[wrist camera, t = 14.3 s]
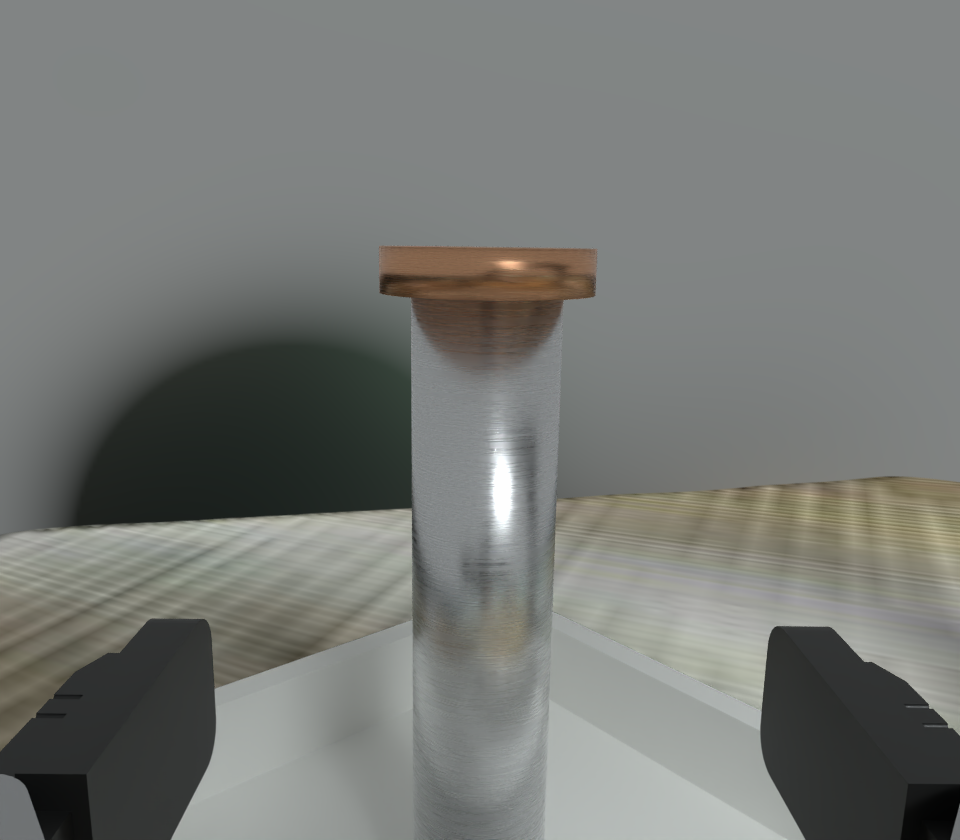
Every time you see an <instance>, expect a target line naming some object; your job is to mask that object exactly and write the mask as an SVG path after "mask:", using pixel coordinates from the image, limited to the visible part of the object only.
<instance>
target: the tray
mask: <svg viewBox="0 0 960 840" xmlns="http://www.w3.org/2000/svg"><path fill="white" fill-rule="evenodd" d="M214 691H215V708H216V735H215V742H214V748H213V753H212V756H211V760H210V763H209V765H208V768H207V770H206V772H205V774H204V776H203V778H202V780H201V782H200V784H199V785H198V787H197V789H196V791H195V793H194V795H193V797H192V799H191V801H190V803H189V805H188V807H187V809H186V811H185V813H184V815H183V817H182V819H181V821H180V823H179V825H178V827H177V828H176V830H175V832H174V834H173V836H172V838H171V840H413V620H410V621H408V622H405V623H402V624H399V625H396V626H393V627H390V628H388V629H385V630H382V631H379V632H376V633H373V634H370V635H367V636H365V637H362V638H359V639H356V640H353V641H350V642H347V643H345V644H342V645H339V646H336V647H333V648H330V649H327V650H324V651H322V652H319V653H316V654H313V655H310V656H307V657H304V658H302V659H299V660H296V661H293V662H290V663H287V664H284V665H281V666H279V667H276V668H273V669H270V670H267V671H264V672H261V673H259V674H256V675H253V676H250V677H247V678H244V679H241V680H238V681H236V682H233V683H230V684H227V685H224V686H221V687H218V688H216V689H214ZM761 713H762V711H761V710H759V709H757V708H755V707H753V706H750V705H748V704H746V703H744V702H742V701H740V700H738V699H736V698H734V697H732V696H729V695H727V694H725V693H723V692H721V691H719V690H717V689H715V688H713V687H711V686H708V685H706V684H704V683H702V682H700V681H698V680H696V679H694V678H692V677H690V676H687V675H685V674H683V673H681V672H679V671H677V670H675V669H673V668H671V667H669V666H666V665H664V664H662V663H660V662H658V661H656V660H654V659H652V658H650V657H648V656H645V655H643V654H641V653H639V652H637V651H635V650H633V649H631V648H629V647H627V646H624V645H622V644H620V643H618V642H616V641H614V640H612V639H610V638H608V637H606V636H603V635H601V634H599V633H597V632H595V631H593V630H591V629H589V628H587V627H585V626H582V625H580V624H578V623H576V622H574V621H572V620H570V619H568V618H566V617H564V616H561V615H559V614H557V613H555V612H553V611H552V637H551V666H550V694H549V722H548V751H547V779H546V807H545V836H544V840H805V838H804V836H803V835H802V833H801V831H800V829H799V827H798V826H797V824H796V822H795V820H794V818H793V817H792V815H791V813H790V811H789V809H788V808H787V806H786V804H785V802H784V800H783V799H782V797H781V795H780V793H779V792H778V790H777V788H776V786H775V784H774V783H773V781H772V779H771V777H770V775H769V773H768V771H767V769H766V766H765V762H764V759H763V754H762V748H761V739H760V724H761Z"/></svg>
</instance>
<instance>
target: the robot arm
mask: <svg viewBox="0 0 960 840" xmlns="http://www.w3.org/2000/svg"><path fill="white" fill-rule="evenodd" d="M215 735H216V708H215V691H214V674H213V656H212V639H211V631H210V627H209V624H208V622H207V621H206V620H205V619H150V620H149V621H147V622H146V624H145V625H144V626H143V627H142V628H141V629H140V630H139V632H138V633H137V634H136V635H135V636H134V637H133V639H132V640H131V641H130V642H129V643H128V644H127V645H126V647H125V648H124V649H123V650H122V651H121V652H120V653H107V654H106V655H104V656H102V657H100V658H99V659H97V660H95V661H94V662H92V663H90V664H88V665H87V666H85V667H83V668H81V669H80V670H78V671H76V672H75V673H74V674H73V675H72V676H71V677H70V678H69V679H68V680H67V681H66V682H65V683H64V684H63V686H62V687H61V688H60V689H59V690H58V691H57V692H56V693H55V694H54V698H53V699H49V700H48V701H47V703H46V704H45V705H44V706H43V707H42V708H41V709H40V710H39V711H38V712H37V713H36V718H32V719H31V720H30V721H29V722H28V723H27V724H26V725H25V726H24V727H23V728H22V729H21V730H20V731H19V732H18V733H17V735H16V736H15V737H14V738H13V739H12V740H11V741H10V742H9V743H8V744H7V745H6V746H5V747H4V748H3V749H2V751H1V752H0V840H171V838H172V836H173V834H174V832H175V830H176V828H177V827H178V825H179V823H180V821H181V819H182V817H183V815H184V813H185V811H186V809H187V807H188V805H189V803H190V801H191V799H192V797H193V795H194V793H195V791H196V789H197V787H198V785H199V784H200V782H201V780H202V778H203V776H204V774H205V772H206V770H207V768H208V765H209V763H210V760H211V756H212V753H213V748H214V742H215ZM760 739H761V748H762V754H763V759H764V762H765V766H766V769H767V771H768V773H769V775H770V777H771V779H772V781H773V783H774V784H775V786H776V788H777V790H778V792H779V793H780V795H781V797H782V799H783V800H784V802H785V804H786V806H787V808H788V809H789V811H790V813H791V815H792V817H793V818H794V820H795V822H796V824H797V826H798V827H799V829H800V831H801V833H802V835H803V836H804V838H805V840H960V736H959V735H958V733H957V732H956V731H955V730H954V729H953V728H948V723H947V722H946V721H945V720H944V719H943V718H942V717H941V716H940V715H939V714H938V713H937V712H936V711H935V710H934V709H929V704H928V703H927V702H926V701H925V700H924V699H923V698H922V697H921V696H920V695H919V694H918V693H917V692H916V691H915V690H914V689H913V688H912V687H911V686H910V685H909V684H908V683H907V682H906V681H904V680H902V679H901V678H899V677H897V676H895V675H894V674H892V673H890V672H888V671H887V670H885V669H883V668H881V667H880V666H878V665H876V664H874V663H873V662H864V661H863V660H862V659H861V658H860V657H859V656H858V655H857V654H856V653H855V652H854V651H853V650H852V649H851V648H850V646H849V645H848V644H847V643H846V642H845V641H844V640H843V639H842V638H841V637H840V636H839V635H838V634H837V633H836V632H835V630H833V629H832V628H830V627H796V626H777V627H775V628H774V629H773V630H772V632H771V634H770V637H769V642H768V650H767V661H766V671H765V682H764V692H763V703H762V713H761V724H760Z"/></svg>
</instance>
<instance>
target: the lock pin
mask: <svg viewBox="0 0 960 840" xmlns="http://www.w3.org/2000/svg"><path fill="white" fill-rule="evenodd" d="M596 267H597V249H580V248H530V247H529V248H528V247H462V246H461V247H459V246H379V279H380V293H381V294H385V295H391V296H400V297H411V350H412V351H411V360H412V361H411V366H412V616H413V840H544V836H545V807H546V779H547V751H548V722H549V694H550V666H551V637H552V609H553V581H554V553H555V524H556V496H557V468H558V465H557V464H558V437H559V410H560V408H559V407H560V383H561V354H562V326H563V325H562V324H563V300H568V299H581V298H590V297H594V296H595V290H596Z"/></svg>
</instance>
